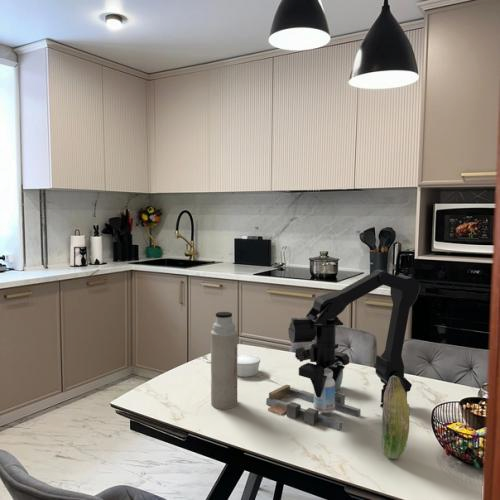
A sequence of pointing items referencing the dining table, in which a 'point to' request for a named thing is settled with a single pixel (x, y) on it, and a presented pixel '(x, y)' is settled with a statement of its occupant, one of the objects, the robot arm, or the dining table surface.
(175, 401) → the dining table surface
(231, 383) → the thermos bottle
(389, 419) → the vegetable
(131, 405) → the dining table surface
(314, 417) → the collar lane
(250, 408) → the dining table surface
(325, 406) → the pill bottle
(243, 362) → the ramekin
